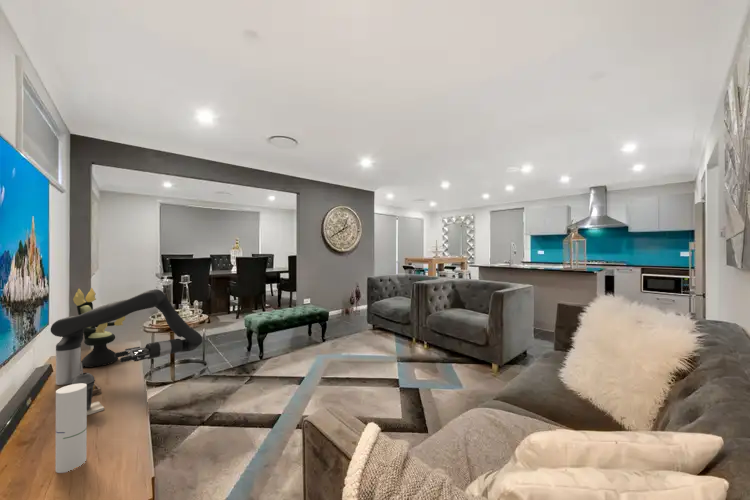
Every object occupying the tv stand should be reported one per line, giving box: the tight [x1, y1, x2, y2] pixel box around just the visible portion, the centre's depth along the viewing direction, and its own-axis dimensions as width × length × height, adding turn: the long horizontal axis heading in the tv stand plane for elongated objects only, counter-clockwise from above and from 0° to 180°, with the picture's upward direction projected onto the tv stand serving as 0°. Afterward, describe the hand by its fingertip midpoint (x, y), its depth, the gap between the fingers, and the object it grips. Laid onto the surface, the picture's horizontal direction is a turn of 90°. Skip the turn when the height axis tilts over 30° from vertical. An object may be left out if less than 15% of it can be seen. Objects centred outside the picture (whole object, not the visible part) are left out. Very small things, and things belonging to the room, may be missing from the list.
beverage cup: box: [71, 363, 96, 411], centre depth 131 cm, size 7×7×20 cm
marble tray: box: [92, 382, 102, 397], centre depth 147 cm, size 9×9×4 cm
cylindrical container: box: [55, 383, 88, 474], centre depth 100 cm, size 7×7×25 cm
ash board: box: [87, 400, 105, 416], centre depth 131 cm, size 9×12×1 cm
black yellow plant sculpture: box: [72, 287, 126, 368], centre depth 184 cm, size 19×22×45 cm
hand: (117, 357), depth 142 cm, fingers open, 8 cm apart
